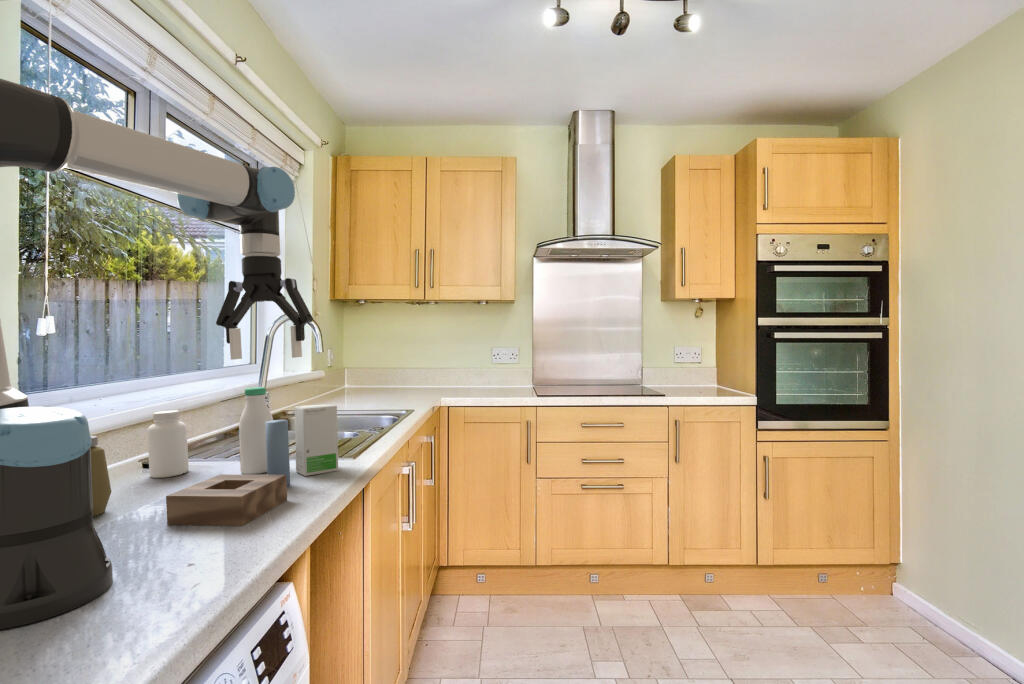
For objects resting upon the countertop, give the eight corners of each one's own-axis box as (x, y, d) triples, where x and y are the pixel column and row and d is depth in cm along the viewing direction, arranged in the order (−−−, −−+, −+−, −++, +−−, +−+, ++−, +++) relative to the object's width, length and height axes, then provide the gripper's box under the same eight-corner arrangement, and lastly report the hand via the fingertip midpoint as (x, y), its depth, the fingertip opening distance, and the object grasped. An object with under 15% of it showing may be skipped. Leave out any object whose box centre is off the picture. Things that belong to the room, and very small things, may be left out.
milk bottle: (282, 469, 131) (279, 386, 131) (252, 476, 124) (249, 390, 124) (263, 465, 135) (260, 385, 135) (233, 473, 128) (230, 389, 128)
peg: (283, 489, 113) (280, 422, 112) (263, 489, 113) (260, 423, 113) (294, 483, 117) (291, 419, 117) (275, 483, 118) (272, 419, 117)
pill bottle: (155, 472, 132) (152, 410, 132) (192, 468, 134) (190, 408, 134) (144, 480, 124) (141, 415, 124) (183, 476, 127) (181, 412, 127)
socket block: (242, 525, 91) (241, 496, 91) (167, 524, 93) (166, 495, 93) (287, 500, 105) (286, 474, 105) (220, 499, 107) (219, 474, 107)
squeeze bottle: (81, 524, 95) (76, 421, 95) (44, 522, 97) (39, 421, 96) (123, 509, 103) (119, 414, 103) (88, 507, 104) (84, 414, 104)
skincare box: (304, 477, 123) (301, 408, 122) (294, 472, 128) (292, 406, 127) (340, 470, 128) (337, 404, 128) (329, 465, 133) (327, 402, 133)
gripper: (326, 256, 115) (331, 355, 116) (217, 262, 118) (223, 358, 119) (308, 251, 108) (314, 357, 109) (193, 257, 111) (199, 361, 111)
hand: (266, 358), depth 114 cm, fingers open, 13 cm apart
